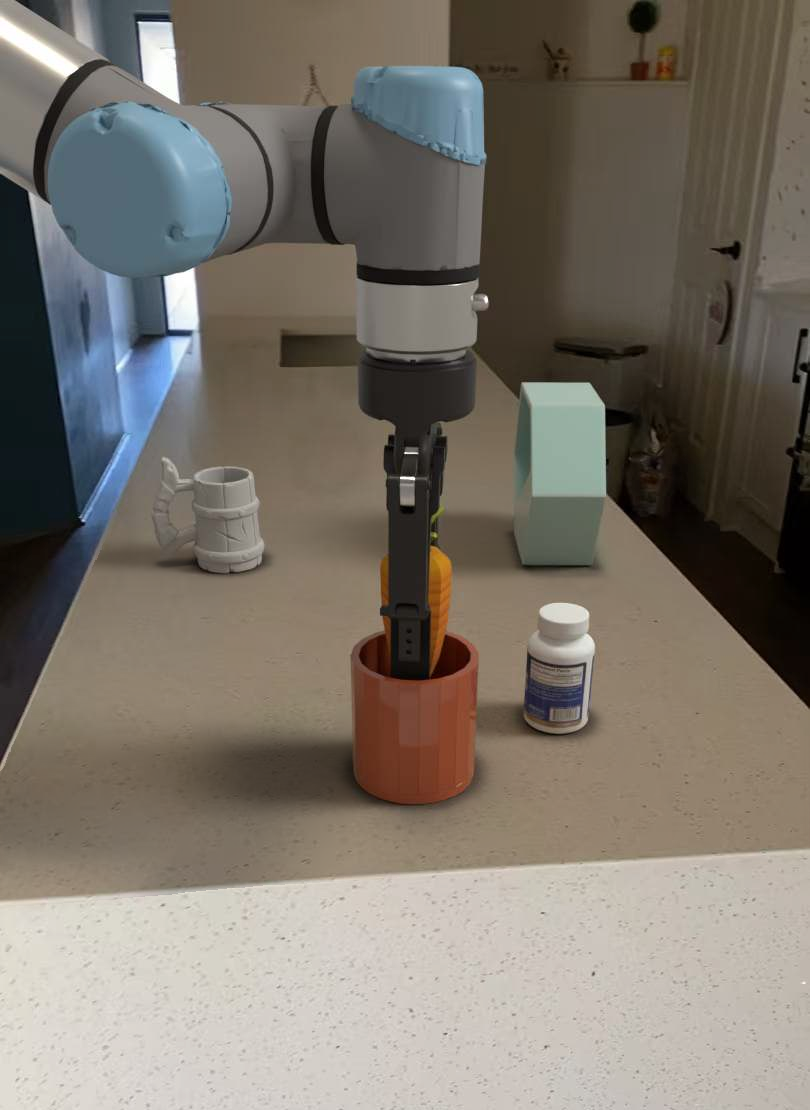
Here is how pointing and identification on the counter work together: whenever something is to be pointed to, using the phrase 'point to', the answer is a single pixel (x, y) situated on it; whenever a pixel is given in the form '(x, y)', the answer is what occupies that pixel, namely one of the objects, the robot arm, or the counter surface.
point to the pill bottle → (559, 670)
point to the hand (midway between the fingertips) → (413, 676)
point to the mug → (212, 517)
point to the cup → (414, 723)
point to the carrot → (437, 597)
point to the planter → (559, 473)
